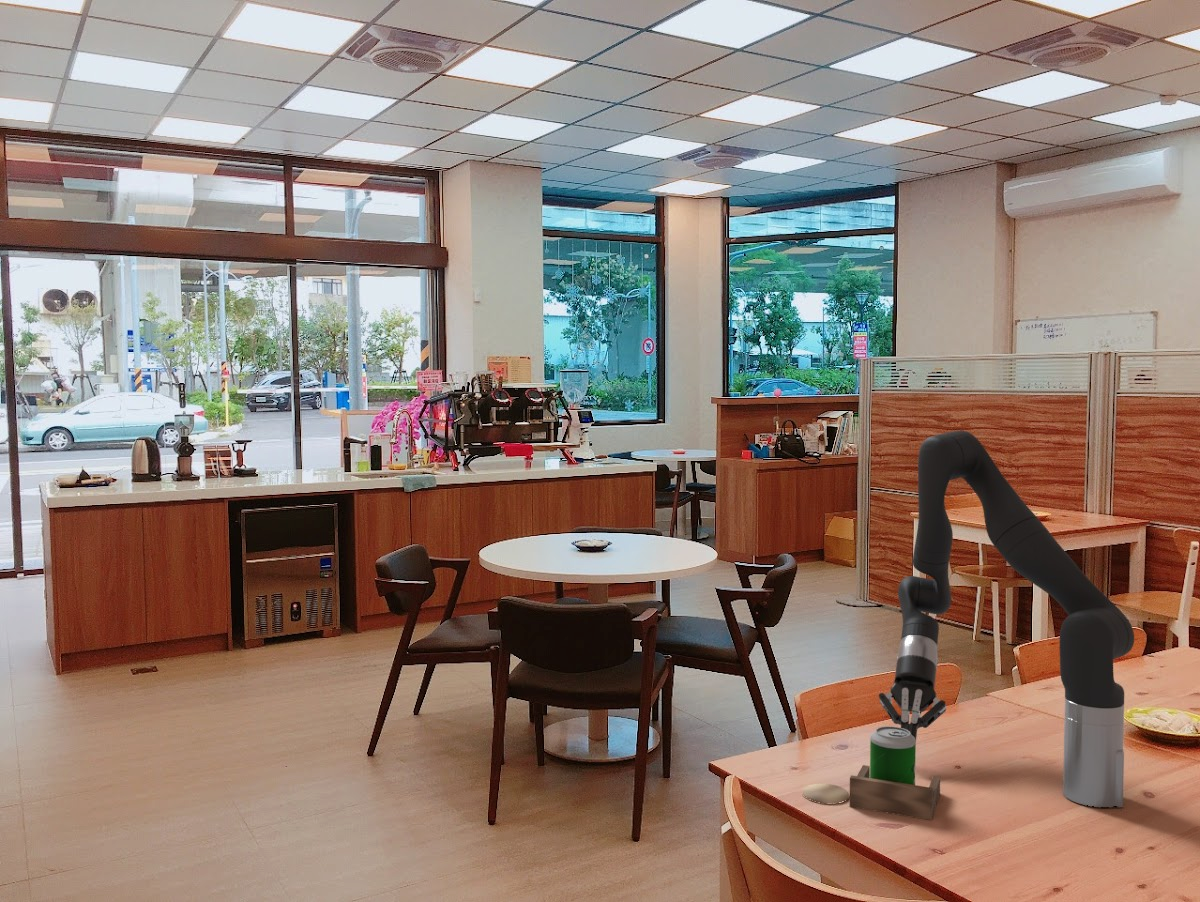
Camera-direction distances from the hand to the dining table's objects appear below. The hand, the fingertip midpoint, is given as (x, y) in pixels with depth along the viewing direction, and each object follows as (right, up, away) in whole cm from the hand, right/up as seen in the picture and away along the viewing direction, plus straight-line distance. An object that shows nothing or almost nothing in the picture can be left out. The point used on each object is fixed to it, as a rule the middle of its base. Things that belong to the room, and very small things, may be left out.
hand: (907, 744), depth 186 cm
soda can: (-7, -6, -13) cm, 16 cm away
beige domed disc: (-18, -6, -11) cm, 22 cm away
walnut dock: (-6, -6, -14) cm, 16 cm away
